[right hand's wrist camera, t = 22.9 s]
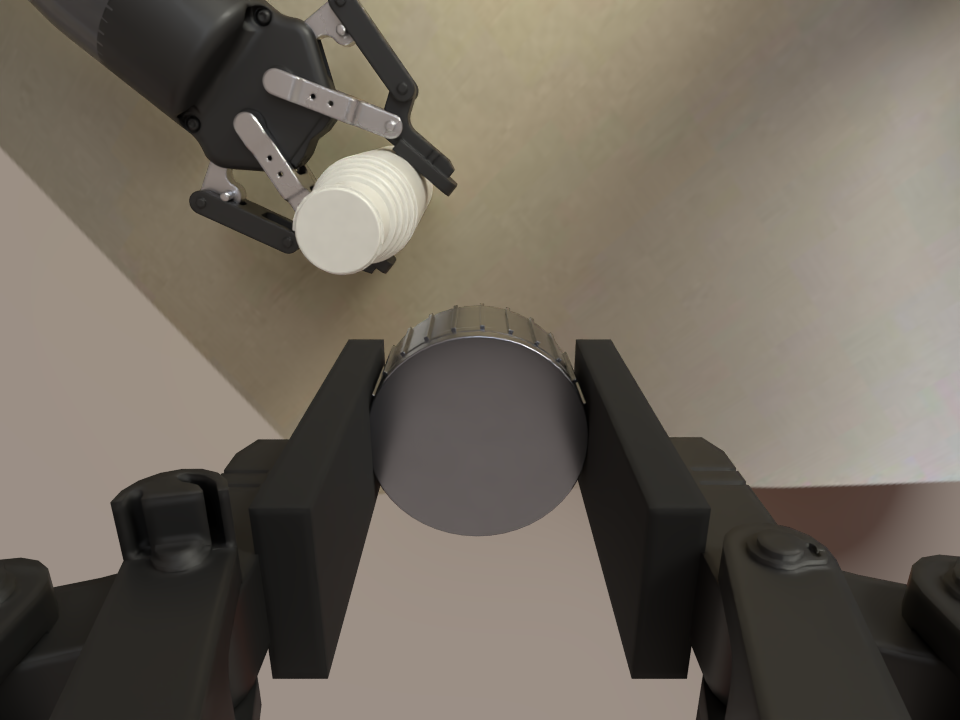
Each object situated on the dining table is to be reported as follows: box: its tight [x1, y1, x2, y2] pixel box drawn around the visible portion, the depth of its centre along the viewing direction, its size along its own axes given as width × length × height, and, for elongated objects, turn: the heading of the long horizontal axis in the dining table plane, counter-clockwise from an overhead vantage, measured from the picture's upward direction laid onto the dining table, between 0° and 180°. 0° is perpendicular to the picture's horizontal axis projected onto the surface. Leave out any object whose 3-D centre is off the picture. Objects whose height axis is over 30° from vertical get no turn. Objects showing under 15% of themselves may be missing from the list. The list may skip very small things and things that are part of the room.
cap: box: [369, 303, 589, 536], centre depth 13 cm, size 4×4×2 cm
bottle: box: [292, 146, 433, 275], centre depth 32 cm, size 5×5×19 cm
